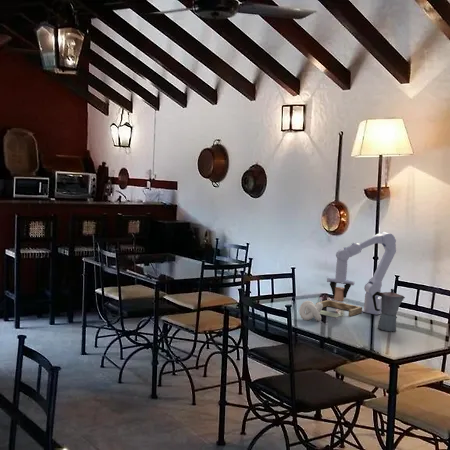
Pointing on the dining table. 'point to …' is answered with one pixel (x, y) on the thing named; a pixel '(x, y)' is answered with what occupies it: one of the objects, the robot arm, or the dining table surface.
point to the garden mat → (330, 314)
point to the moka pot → (388, 309)
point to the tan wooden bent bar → (343, 307)
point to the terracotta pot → (339, 294)
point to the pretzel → (310, 310)
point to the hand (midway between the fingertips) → (339, 296)
